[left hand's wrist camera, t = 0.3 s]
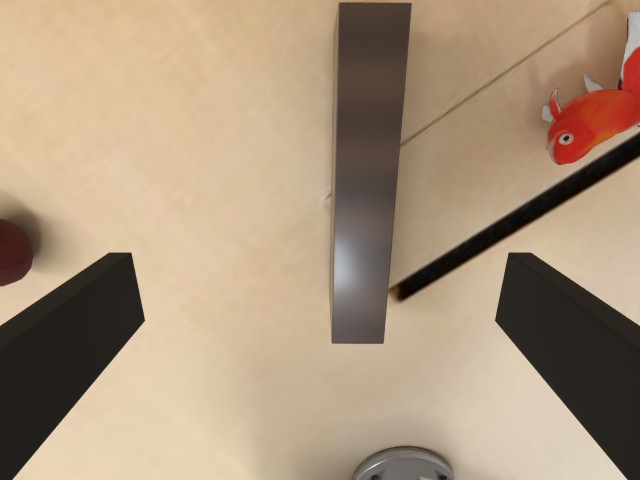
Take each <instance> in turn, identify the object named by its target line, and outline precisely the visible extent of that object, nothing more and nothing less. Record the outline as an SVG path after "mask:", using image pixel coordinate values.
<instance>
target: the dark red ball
mask: <svg viewBox="0 0 640 480" xmlns="http://www.w3.org/2000/svg"><path fill="white" fill-rule="evenodd" d="M32 260H33V253H32V249H31V244H30V242H29V241H28V239H27V237H26V235H25V234H24V232H23V231H21V230H20V229H19V228H18V227H17V226H16V225H14V224H12V223H10V222H8V221H6V220H3V219H0V286H5V285H8V284H11V283H13V282H16V281H18V280H21V279H22V278H23V277H24V276H25V275H26V274H27V273H28V271H29V270H30V268H31V265H32Z"/></svg>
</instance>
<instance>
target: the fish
mask: <svg viewBox="0 0 640 480" xmlns="http://www.w3.org/2000/svg"><path fill="white" fill-rule="evenodd" d="M583 77H584V81H585V85H586V88H587V90H588V92H589V93H586V94H583V95H581V96H578V97H576V98H574V99H573V100H571V101H570V102H568V103H567V104H566V105H564V106H563V107H562V108H561V109H560V106H559V104H558V102H557V92H558V86H557V88H556V90H555V91H554V92H553V93H552V96H551V98H550V101H549V106H548V105H545V106H543V108H542V118H543V120H545V121H548V122H549V123H550V125H549V129H548V133H547V146H548V149H547V150H548V152H549V155H550V157H551V159H552V160H553V161H554V162H555V163H556V164H558V165H563V164H567V163H574V162H576V161H577V160H579V159H581V158H582V157H583V156H585V155H586V154H587V153H588V152H589V151H590V150H591V149H592V148H593V147H594V146H596V145H598V144H600V143H602V142H603V141H605V140H607V139H609V138H611V137H613V136H614V135H615V134H617V133H620V132H623V131H626V130H628V129H630V128H632V127H635V126H638V127H640V12H629V13H628V20H627V44H626V49H625V54H624V59H623V64H622V69H621V74H620V79H619V84H618V90H615V89H604V88H603V87H602V86H601V85H599V84H598V83H596V82H595V81H594V80H592V79H591V78H590V77H589V76H587V75H586V74H583ZM545 149H546V148H545Z"/></svg>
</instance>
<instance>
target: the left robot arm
mask: <svg viewBox="0 0 640 480" xmlns="http://www.w3.org/2000/svg"><path fill="white" fill-rule="evenodd" d="M144 321H145V318H144V313H143V308H142V303H141V298H140V293H139V288H138V283H137V278H136V273H135V269H134V264H133V259H132V254H131V253H108V254H106V255H105V256H103V257H102V258H101V259H99V260H98V261H96V262H95V263H93V264H92V265H90V266H89V267H87V268H86V269H84V270H83V271H81V272H80V273H78V274H77V275H75V276H74V277H72V278H71V279H69V280H68V281H66V282H65V283H63V284H62V285H60V286H59V287H57V288H56V289H54V290H53V291H51V292H50V293H48V294H47V295H46V296H44V297H43V298H41V299H40V300H38V301H37V302H35V303H34V304H32V305H31V306H29V307H28V308H26V309H25V310H23V311H22V312H20V313H19V314H17V315H16V316H14V317H13V318H11V319H10V320H8V321H7V322H5V323H4V324H2V325H1V326H0V480H13V478H14V477H15V476H16V475H17V474H18V472H19V471H20V470H21V469H22V468H23V466H24V465H25V464H26V463H27V462H28V460H29V459H30V458H31V457H32V456H33V454H34V453H35V452H36V451H37V450H38V448H39V447H40V446H41V445H42V444H43V442H44V441H45V440H46V439H47V438H48V436H49V435H50V434H51V433H52V432H53V430H54V429H55V428H56V427H57V426H58V424H59V423H60V422H61V421H62V420H63V418H64V417H65V416H66V415H67V414H68V412H69V411H70V410H71V409H72V408H73V406H74V405H75V404H76V403H77V402H78V400H79V399H80V398H81V397H82V396H83V394H84V393H85V392H86V391H87V390H88V388H89V387H90V386H91V385H92V384H93V382H94V381H95V380H96V379H97V378H98V376H99V375H100V374H101V373H102V372H103V370H104V369H105V368H106V367H107V366H108V364H109V363H110V362H111V361H112V360H113V358H114V357H115V356H116V355H117V354H118V352H119V351H120V350H121V349H122V348H123V346H124V345H125V344H126V343H127V342H128V340H129V339H130V338H131V337H132V336H133V334H134V333H135V332H136V331H137V330H138V328H139V327H140V326H141V325H142V324H143V322H144ZM495 321H496V322H497V324H498V325H499V326H500V327H501V328H502V330H503V331H504V332H505V333H506V334H507V336H508V337H509V338H510V339H511V340H512V342H513V343H514V344H515V345H516V346H517V348H518V349H519V350H520V351H521V352H522V354H523V355H524V356H525V357H526V358H527V360H528V361H529V362H530V363H531V364H532V366H533V367H534V368H535V369H536V370H537V372H538V373H539V374H540V375H541V376H542V378H543V379H544V380H545V381H546V382H547V384H548V385H549V386H550V387H551V388H552V390H553V391H554V392H555V393H556V394H557V396H558V397H559V398H560V399H561V400H562V402H563V403H564V404H565V405H566V406H567V408H568V409H569V410H570V411H571V412H572V414H573V415H574V416H575V417H576V418H577V420H578V421H579V422H580V423H581V424H582V426H583V427H584V428H585V429H586V430H587V432H588V433H589V434H590V435H591V436H592V438H593V439H594V440H595V441H596V442H597V444H598V445H599V446H600V447H601V448H602V450H603V451H604V452H605V453H606V454H607V456H608V457H609V458H610V459H611V460H612V462H613V463H614V464H615V465H616V466H617V468H618V469H619V470H620V471H621V472H622V474H623V475H624V476H625V477H626V478H627V480H640V326H639V325H638V324H636V323H635V322H633V321H632V320H630V319H629V318H627V317H626V316H624V315H623V314H621V313H620V312H618V311H617V310H615V309H614V308H612V307H611V306H609V305H608V304H606V303H605V302H603V301H602V300H600V299H599V298H597V297H596V296H594V295H593V294H592V293H590V292H589V291H587V290H586V289H584V288H583V287H581V286H580V285H578V284H577V283H575V282H574V281H572V280H571V279H569V278H568V277H566V276H565V275H563V274H562V273H560V272H559V271H557V270H556V269H554V268H553V267H551V266H550V265H548V264H547V263H545V262H544V261H542V260H541V259H539V258H538V257H537V256H535V255H534V254H532V253H509V254H508V259H507V264H506V269H505V273H504V278H503V283H502V288H501V293H500V298H499V303H498V308H497V313H496V318H495ZM352 480H454V477H453V474H452V471H451V469H450V467H449V466H448V464H447V463H446V462H445V461H444V460H443V459H442V458H441V457H439V456H438V455H436V454H434V453H432V452H430V451H427V450H424V449H420V448H413V447H400V448H393V449H388V450H385V451H382V452H379V453H377V454H375V455H373V456H371V457H370V458H368V459H367V460H365V461H364V462H363V463H362V464H361V465H360V466H359V467H358V469H357V470H356V472H355V474H354V476H353V479H352Z"/></svg>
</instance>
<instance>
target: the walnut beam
mask: <svg viewBox="0 0 640 480" xmlns="http://www.w3.org/2000/svg"><path fill="white" fill-rule="evenodd" d="M411 6H412V4H411V3H350V2H340V3H339V6H338V11H337V17H336V22H335V28H334V60H333V118H332V176H331V234H330V292H329V298H330V318H331V338H332V343H344V344H383V343H384V332H385V320H386V308H387V296H388V284H389V272H390V260H391V247H392V235H393V223H394V211H395V199H396V187H397V175H398V163H399V151H400V139H401V127H402V115H403V103H404V91H405V79H406V67H407V55H408V43H409V30H410V18H411Z"/></svg>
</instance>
